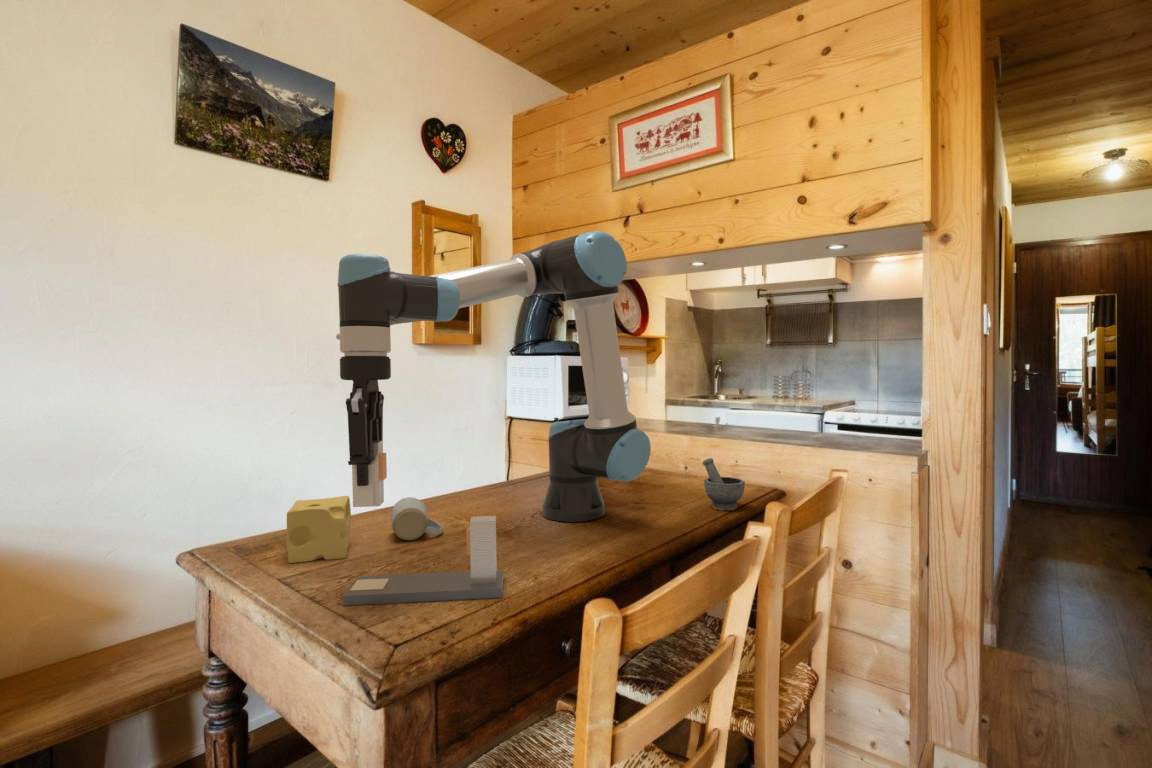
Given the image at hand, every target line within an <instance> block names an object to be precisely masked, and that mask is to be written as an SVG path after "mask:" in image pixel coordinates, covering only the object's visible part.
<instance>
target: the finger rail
mask: <svg viewBox="0 0 1152 768" xmlns="http://www.w3.org/2000/svg"><path fill="white" fill-rule="evenodd" d="M465 535H466V556H470V571H452V572H450V571H449V572H448V571H447V572H429V573H428V572H427V573H406V574H403V573H402V574H386V575H385V574H384V575H383V574H381V575H380V574H379V575H360V576H357V577H356V578H355V579H354V580H353V581H352V583H351V584H350V586H349V587H348V589H347V590H346V591H345V593H343V595H342V606H344V607H345V606H362V605H364V606H365V605H382V604H385V605H386V604H404V603H406V604H407V603H421V602H422V603H424V602H441V601H442V602H443V601H447V602H448V601H462V600H463V601H464V600H466V601H468V600H484V599H502V598H503V591H504V590H503V587H504V569H497V568H498V567H497V566H498V565H497V564H498V563H497V561H498V560H497V558H498V557H497V515H486V516H483V515H481V516H471V517H470V520H469V526H467V528H466V534H465Z"/></svg>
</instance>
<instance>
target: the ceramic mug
mask: <svg viewBox="0 0 1152 768" xmlns="http://www.w3.org/2000/svg"><path fill="white" fill-rule="evenodd" d="M390 519H391V521H390V522H391V528H392V531H393V533H394V534H395V535H396V536H397V537H398V538H399V539H401V540H403V541H415V540H417V539H419V538H421V536H423V534H424V533H425V534H429V535H431V536H440V535H441V534H442V533H443V530H444V527H443V525H442V524H441V523H439V522H437V521H436V520H434V519H431V518H429V517H428V509H427V506H426V505H425V503H424V502H423V501H421V500H420V499H418V498H416V497H411V496H409V497H405V498H401V499H399V500H398V501H397V502H396V503H395V504H394V506H393V507H392V509H391V512H390Z"/></svg>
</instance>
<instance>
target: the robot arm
mask: <svg viewBox="0 0 1152 768" xmlns="http://www.w3.org/2000/svg"><path fill="white" fill-rule="evenodd" d="M627 267H628V263H627V258H626V255H625V251H624V249H623V247H622V246H621V244H620V242H619V241H618V240H616V238H614V236H612V235H611V234H610V233H608V232H605V231H600V230H597V231H590V232H588V231H587V232H584V233H579V234H576V235H572V236H569V237H565V238H563V239H559V240H557V239H556V240H554V241H551V242H548V243H546V244H543V245H541V246H538V247H536V248H533V249H530V250H527V251H524V252H519V253H515V254H513V255H512V256H511V257H510V258H509V260H502V261H498V262H493V263H487V264H482V265H477V266H472V267H466V268H461V269H457V270H456V269H455V270H452V271H446V272H442V273H436V274H431V275H420V274H419V275H418V274H410V273H402V272H401V273H400V272H395V271H391V267H390V262H389V260H388V258H386V257H385V256H381V255H380V256H379V255H378V254H368V253H352V254H347V255H345V256H343V257H341V258H340V260H339V263H338V272H337V273H338V274H337V277H338V278H337V287H338V288H337V289H338V290H337V292H338V293H337V294H338V313H339V314H338V316H339V333H337V334H336V336H335V338H336V339H337V341H338V340H339V351H340V353H342V354H344V355H343V356H340V358H339V377H340V379H341V380H343V381H352V389H351V392H350V393H349V397H347V398H346V399H345V405H346V406H345V407H346V411H347V423H348V424H347V425H348V426H347V428H348V449H349V451H348V453H349V460H348V461H347V464H348V465H349V466H352V465H354V468H355V507H354V508H357V507H356V506H373V507H375V506H374V464H371V462H372V440H384V437H383V435H384V434H383V433H384V432H383V431H384V428H383V427H384V426H383V424H384V412H383V411H384V400H385V396H384V393H382V391H380V387H379V381H386V380H390V379H391V377H392V374H391V373H392V369H391V367H392V365H391V364H392V363H391V358H390V357H389V356H388V354H389V353H390V352H391V349H392V348H391V347H392V345H391V326H393V325H400V324H409V323H415V322H425V321H426V322H434V323H438V322H450V321H452V320H453V319H454V318H455V317H456V316H457V314H458V311H459V309H462V308H467V307H471V306H474V305H479V304H483V303H487V302H493V301H496V300H500V299H504V298H509V297H512V296H516V295H517V296H520V297H522V298H529V297H531V296H537V295H538V296H539V295H548V294H549V295H550V294H552V295H554V294H564V301H565V303H566V304H568V305H569V306H570V307H571V308H572V309H573V313H574V320H575V328H576V333H577V341H578V347H579V354H580V361H581V362H580V363H581V366H582V368H581V369H582V373H583V374H582V375H583V380H584V381H583V383H584V389H585V395H586V402H587V407H588V413H589V414H588V418H582V419H572V420H563V421H554V422H552V423H551V424H550V426H549V432H548V433H549V435H548V438H547V440H548V465H549V466H548V467H549V482H548V483H549V484H548V486H547V491H546V492H545V493H546V494H545V497H544V499H543V504H542V516H543V517H544V518H546V519H548V520H552V521H556V522H563V521H564V522H566V523H570V522H571V523H581V522H582V521H583V522H590V521H594V520H593V519H595V520H598V519H601V518H602V516H603V515H604V514H606V513H605V512H606V507H605V502H604V499H603V496H602V492H601V490H600V486H599V484H598V478H602V479H607V480H610V481H613V482H619V481H620V482H631V481H634V480H636V479H638V477H640V476H641V475H642V473H643V472H644V471H645V469H646V467H647V466H648V463H649V461H650V458H651V442H650V437H649V436H648V435H647V434H646V432H645V431H643V430H641V429H640V428H638V427H637V419H636V415H634V414H633V413H632V412H630V411H629V410H628V403H627V394H626V390H625V389H626V388H625V379H624V373H623V366H622V360H621V359H622V358H621V353H620V345H619V338H618V331H617V330H618V329H617V324H616V323H617V322H616V316H615V315H616V314H615V308H614V301H615V300H616V299H617V298H618V296H619V294H620V293H619V292H620V291H619V285H620V284H621V283H622V282H623V280H624V279H625V275H626V273H627V269H628V268H627ZM604 516H605V515H604ZM604 516H603V517H604ZM600 517H601V518H600ZM597 518H598V519H597ZM589 520H590V521H589ZM564 522H563V523H564Z"/></svg>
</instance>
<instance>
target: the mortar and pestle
mask: <svg viewBox="0 0 1152 768" xmlns="http://www.w3.org/2000/svg"><path fill="white" fill-rule="evenodd" d="M714 462H715V461H714V459H713V458H707V459H704V460H703V461H702V465H703V466H704V467H705V470H706V472H707V475H708V477H707V478H705V479H704V482H703V483H704V491H705V493H706V496H707V498H709V499H710V500H711V507H712V506H713V507H715V508H719V509H726V510H731V511H736V510H737V509H738V504H737V502H738V501H739V500H740V499H741V498H742V497H743V495H744V493H745V486H746V485H745V484H746V483H745V482H746V481H744V479H742V478H737V477H729V476H721V475H720V473H719V471H718V469H717V467H716V465H715V463H714ZM736 508H737V509H736ZM735 509H736V510H735Z"/></svg>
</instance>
